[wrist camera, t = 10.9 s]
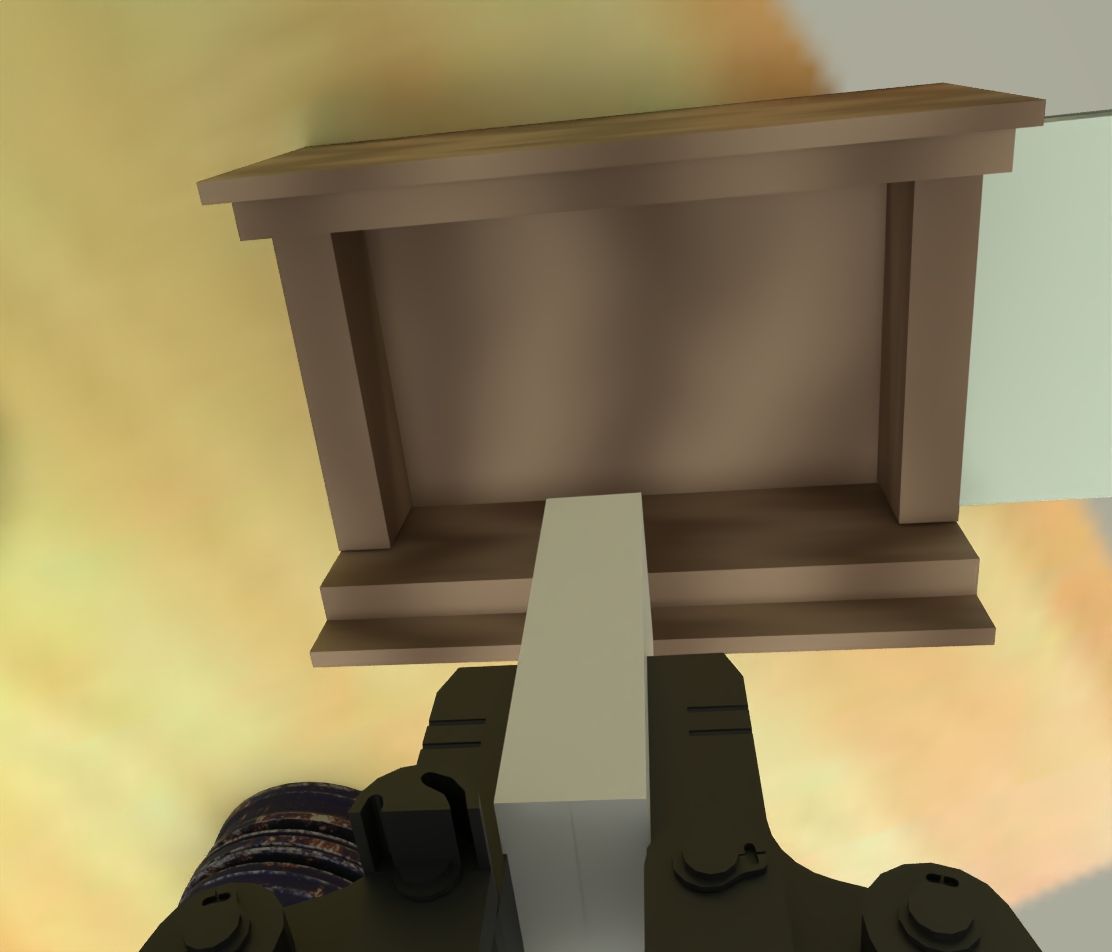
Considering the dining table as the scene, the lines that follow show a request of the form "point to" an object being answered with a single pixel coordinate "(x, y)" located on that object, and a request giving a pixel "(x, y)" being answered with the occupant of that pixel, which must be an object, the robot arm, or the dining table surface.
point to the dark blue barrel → (285, 844)
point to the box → (645, 364)
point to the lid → (1043, 320)
